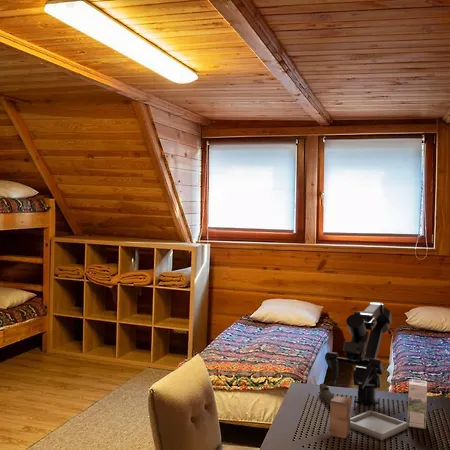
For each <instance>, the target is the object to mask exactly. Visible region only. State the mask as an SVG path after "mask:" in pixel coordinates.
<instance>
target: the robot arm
mask: <svg viewBox="0 0 450 450" xmlns="http://www.w3.org/2000/svg"><path fill="white" fill-rule="evenodd" d="M345 321H346V326H347V329H348V331H349V334H350V336H351V337H350V341H346V340H345V341H343V348H342V351H343V352H344V354H343V355H344V357H340V356H339V352H333V351H326V353H325V355H324V360H325V362H326V365H327V366H328V367H329V368H330V369H332V379H333V380H332V381H333V384H334V385H336V383H337V381H338V380H337V379H338V377H339V373H340V365H341V364H343V365H350V366H355V368H353V372H352V376H353V386H357V398H355V399H354V402H355V403H358V404H362V405H365V406H367V407H370V406H373V405H375V404H377V403H379V402H380V401H379V400H378V399H376V390H377V389H381V386H382V385H381V383H382V382H381V377H380V375H383V373H384V365H383V362H382V360H381V359H380V358H378V355H379V350H380V346H381V343H382V338H383V335H384V334H385V333H386V332H387V331H389V329H390V326H391V325H392V323H393V316H392V313H391V310H390V309H388V308H387V307H386V306H385V304H384V303H383V302H377V301H376V302H375V301H374V302H373V301H372V302H370V303H369V304H368V306H367V307H366V308H364V310H363V311H361V310H358V311H354V313H353V314H351V315H349V316H348V317H347V318H346V320H345ZM368 331H370V332H368Z"/></svg>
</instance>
